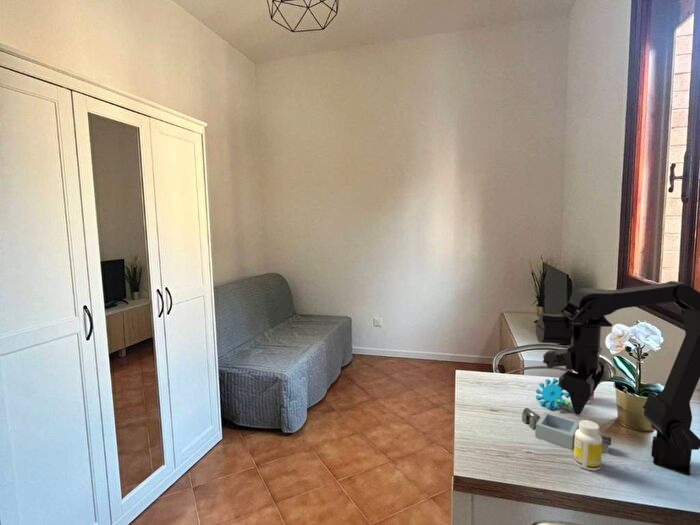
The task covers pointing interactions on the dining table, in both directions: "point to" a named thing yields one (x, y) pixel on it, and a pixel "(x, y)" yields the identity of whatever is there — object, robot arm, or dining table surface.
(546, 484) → the dining table surface
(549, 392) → the gear
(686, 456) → the robot arm
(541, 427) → the housing
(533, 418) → the shaft
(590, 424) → the supplement bottle
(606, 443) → the shaft
